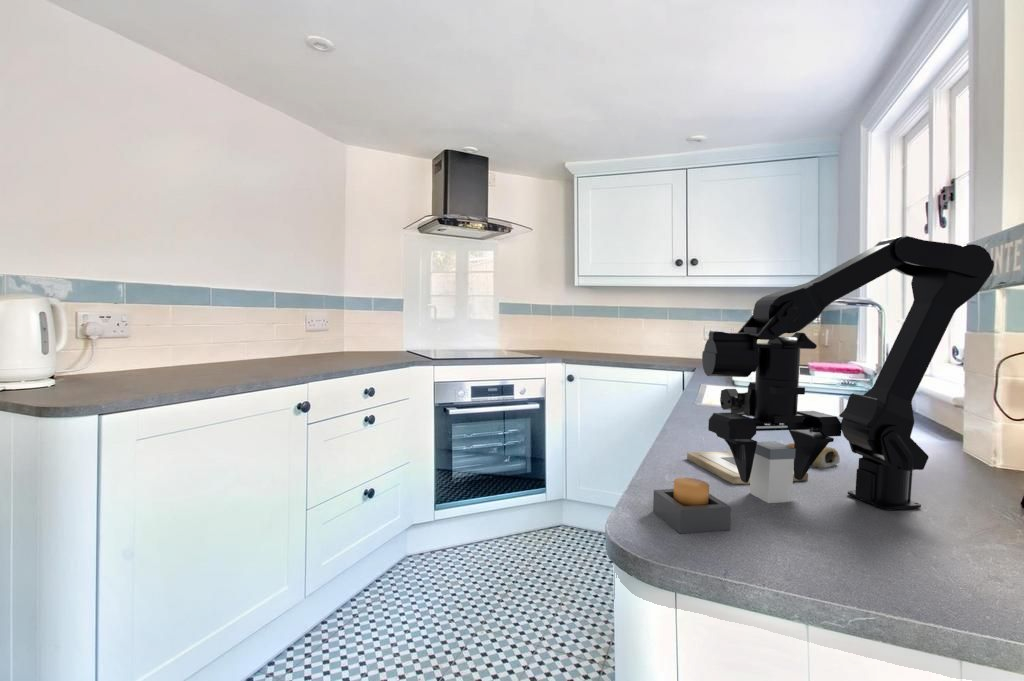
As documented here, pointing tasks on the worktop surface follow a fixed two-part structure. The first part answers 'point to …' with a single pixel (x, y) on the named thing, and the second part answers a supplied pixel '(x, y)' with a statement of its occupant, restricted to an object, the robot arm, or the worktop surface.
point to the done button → (691, 492)
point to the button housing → (691, 513)
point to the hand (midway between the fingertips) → (771, 480)
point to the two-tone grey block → (772, 472)
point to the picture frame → (722, 465)
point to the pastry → (825, 457)
